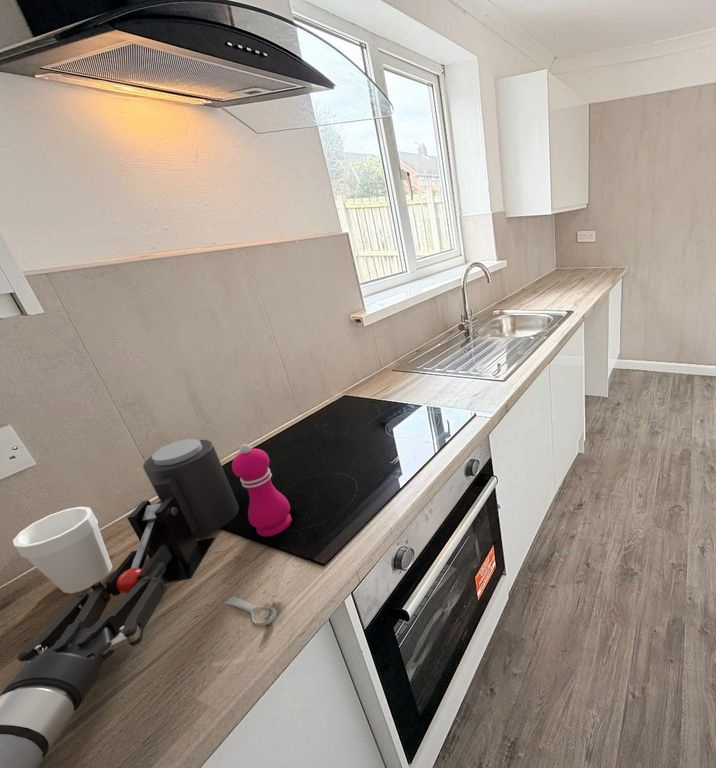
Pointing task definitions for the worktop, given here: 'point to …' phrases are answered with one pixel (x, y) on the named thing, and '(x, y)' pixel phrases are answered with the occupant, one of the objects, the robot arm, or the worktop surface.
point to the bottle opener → (252, 609)
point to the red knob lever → (140, 551)
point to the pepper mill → (261, 492)
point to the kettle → (193, 484)
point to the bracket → (172, 539)
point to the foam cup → (66, 549)
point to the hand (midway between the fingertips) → (151, 554)
